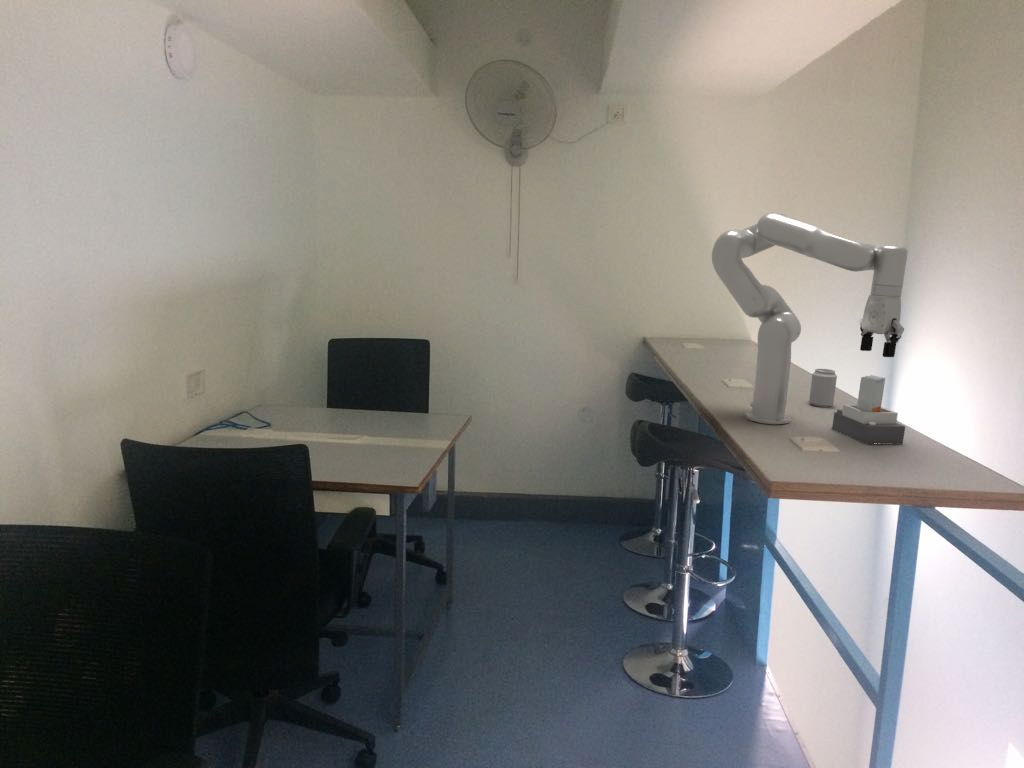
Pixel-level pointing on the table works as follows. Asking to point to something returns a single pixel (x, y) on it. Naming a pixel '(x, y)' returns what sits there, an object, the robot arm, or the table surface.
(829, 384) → the can
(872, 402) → the skincare box
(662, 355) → the table surface
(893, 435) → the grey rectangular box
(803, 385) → the table surface
